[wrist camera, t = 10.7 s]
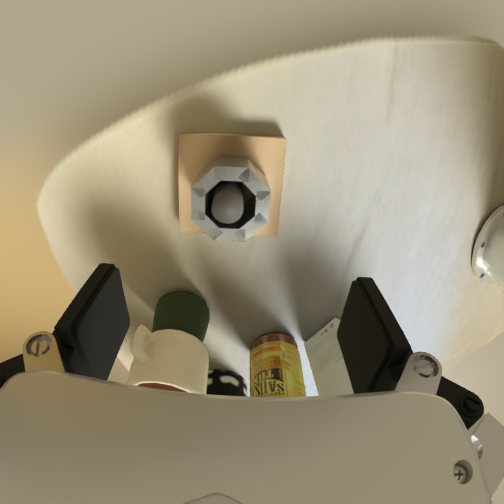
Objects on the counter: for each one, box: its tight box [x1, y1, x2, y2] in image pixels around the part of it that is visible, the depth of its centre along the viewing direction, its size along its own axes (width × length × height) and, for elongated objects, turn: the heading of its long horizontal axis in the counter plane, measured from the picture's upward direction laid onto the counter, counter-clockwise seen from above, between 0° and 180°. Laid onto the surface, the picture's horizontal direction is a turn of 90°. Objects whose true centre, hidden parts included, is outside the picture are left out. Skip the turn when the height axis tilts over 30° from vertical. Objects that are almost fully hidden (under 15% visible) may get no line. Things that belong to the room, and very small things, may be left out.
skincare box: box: [304, 317, 354, 396], centre depth 30 cm, size 8×6×15 cm
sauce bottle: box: [250, 333, 306, 397], centre depth 28 cm, size 6×6×20 cm
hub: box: [191, 155, 271, 241], centre depth 23 cm, size 6×6×5 cm
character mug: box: [127, 292, 209, 394], centre depth 27 cm, size 11×7×13 cm, turn 22°
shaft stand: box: [178, 133, 287, 236], centre depth 23 cm, size 9×9×7 cm
